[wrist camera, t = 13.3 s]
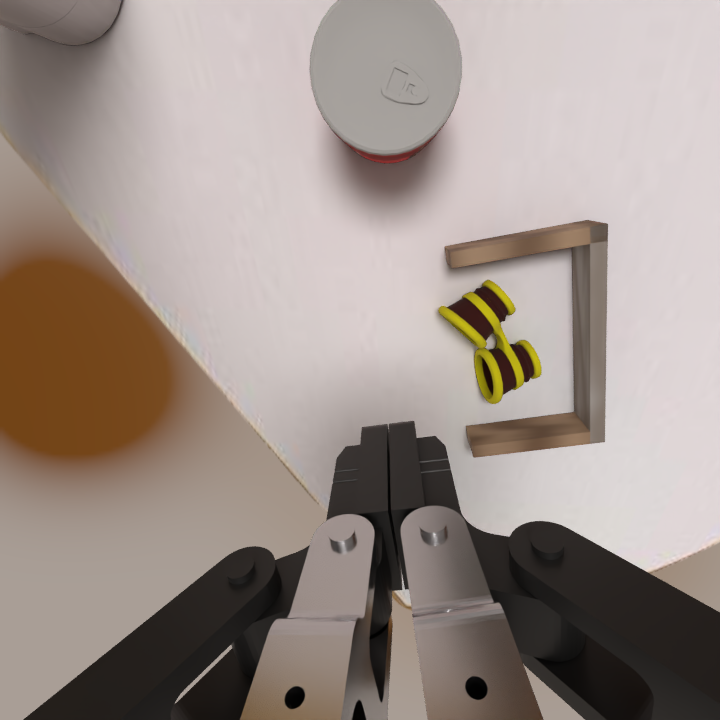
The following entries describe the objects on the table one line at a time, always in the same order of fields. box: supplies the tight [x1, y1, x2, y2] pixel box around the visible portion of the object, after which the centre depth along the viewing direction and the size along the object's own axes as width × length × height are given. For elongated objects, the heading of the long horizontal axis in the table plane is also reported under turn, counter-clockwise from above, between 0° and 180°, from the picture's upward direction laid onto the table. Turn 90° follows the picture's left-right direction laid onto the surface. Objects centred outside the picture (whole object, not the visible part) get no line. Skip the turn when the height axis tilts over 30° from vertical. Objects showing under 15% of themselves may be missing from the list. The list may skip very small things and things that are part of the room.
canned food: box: [310, 0, 462, 163], centre depth 27 cm, size 8×8×11 cm
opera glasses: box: [438, 280, 541, 404], centre depth 37 cm, size 10×5×5 cm, turn 30°
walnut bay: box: [445, 220, 608, 457], centre depth 37 cm, size 11×18×4 cm, turn 11°
